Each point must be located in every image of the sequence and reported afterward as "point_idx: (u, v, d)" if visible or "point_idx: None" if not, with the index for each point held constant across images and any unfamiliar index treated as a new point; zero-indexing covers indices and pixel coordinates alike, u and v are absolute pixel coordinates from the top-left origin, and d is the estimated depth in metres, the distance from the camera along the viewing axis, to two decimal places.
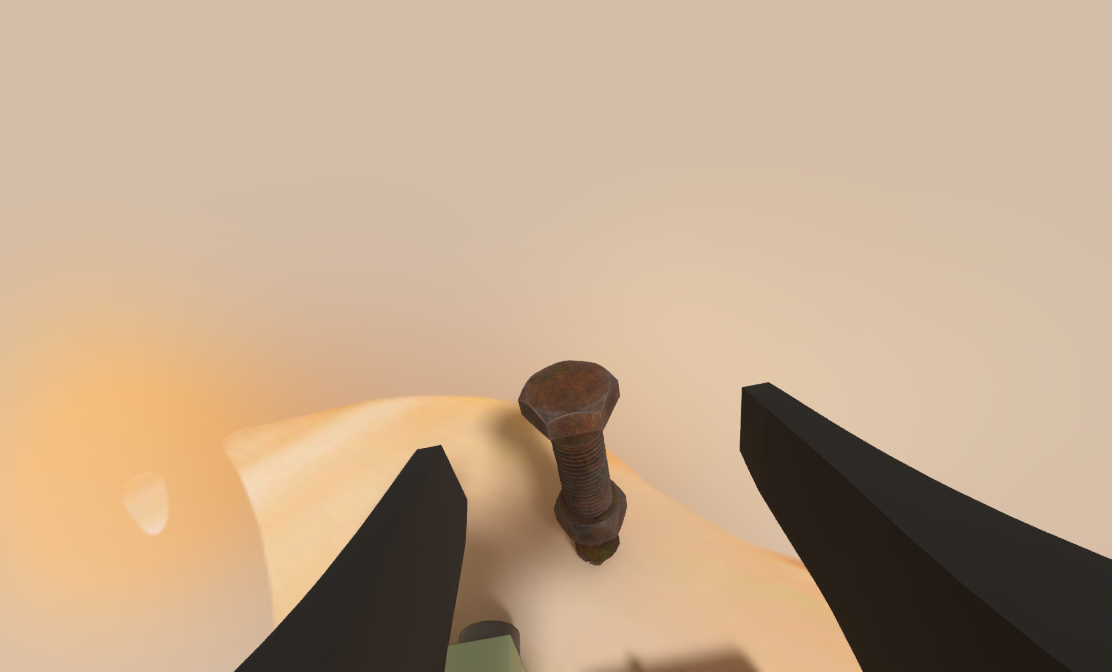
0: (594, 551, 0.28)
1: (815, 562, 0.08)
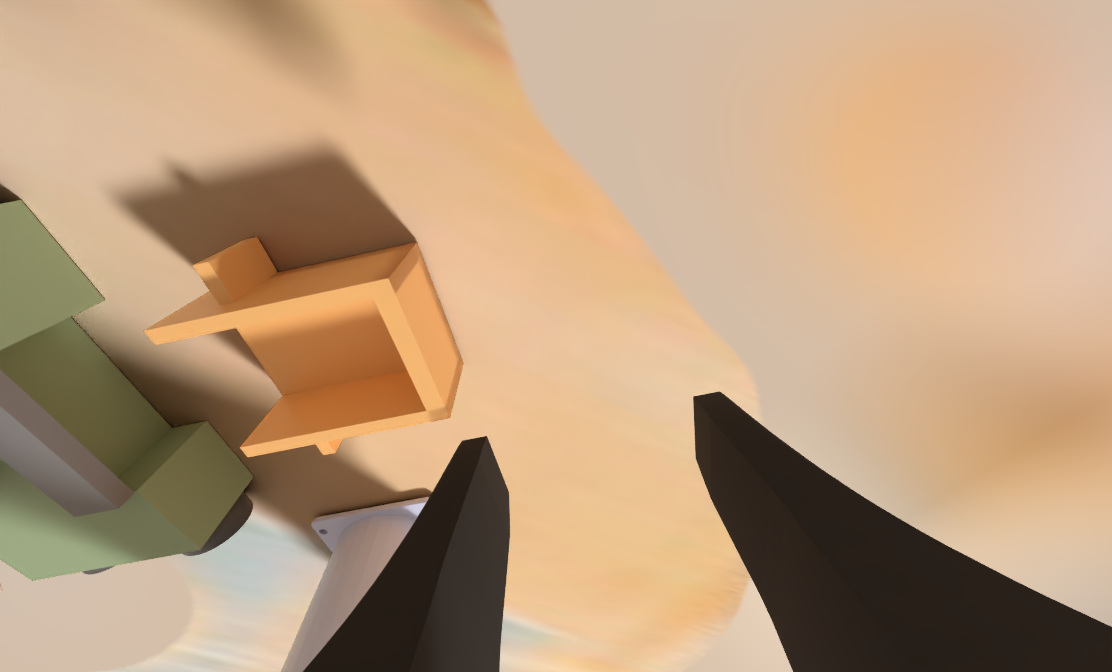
0: None
1: (757, 572, 0.08)
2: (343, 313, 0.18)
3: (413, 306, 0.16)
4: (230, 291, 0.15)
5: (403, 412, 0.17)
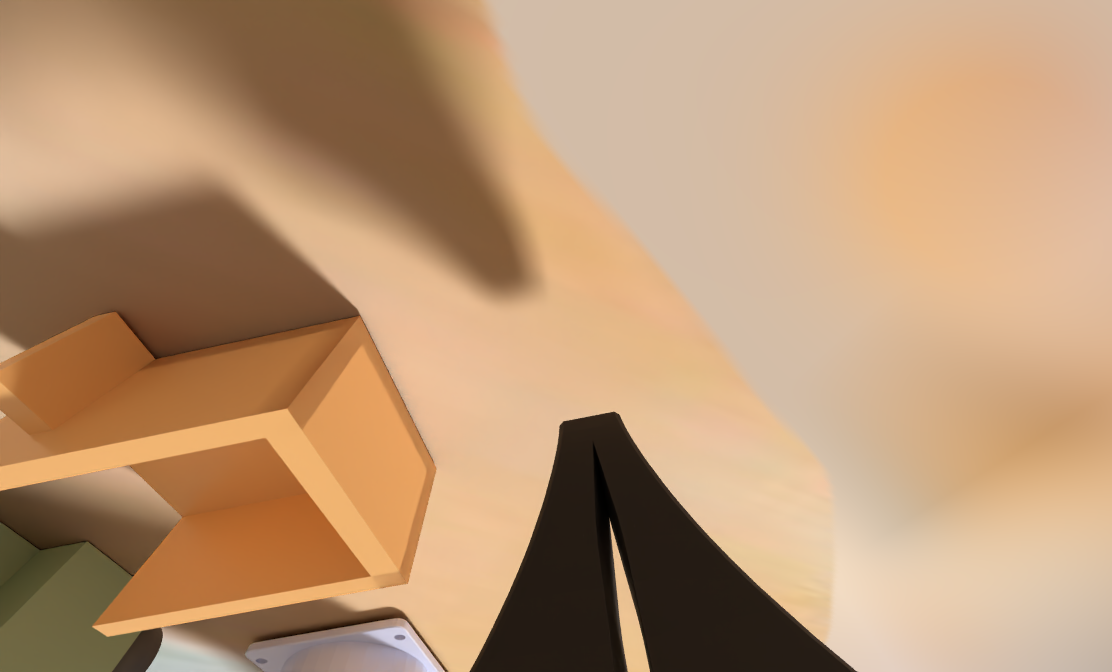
0: None
1: (632, 593, 0.08)
2: None
3: (343, 431, 0.10)
4: (44, 413, 0.09)
5: (338, 576, 0.11)
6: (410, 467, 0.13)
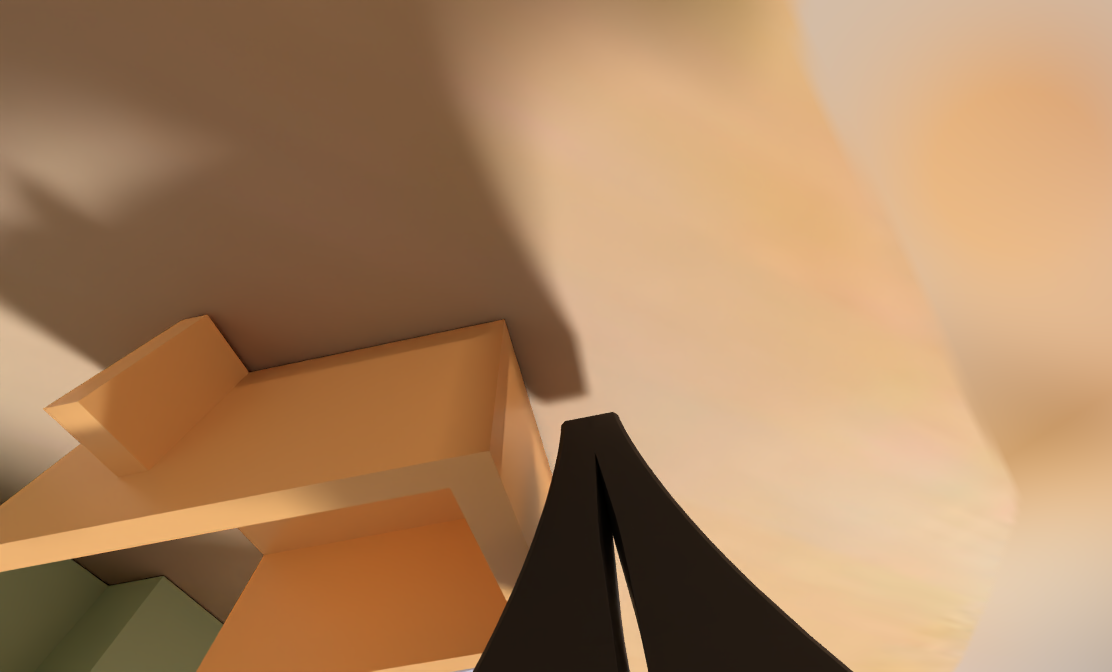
0: None
1: (630, 593, 0.08)
2: None
3: (518, 471, 0.08)
4: (138, 450, 0.07)
5: (484, 643, 0.09)
6: None
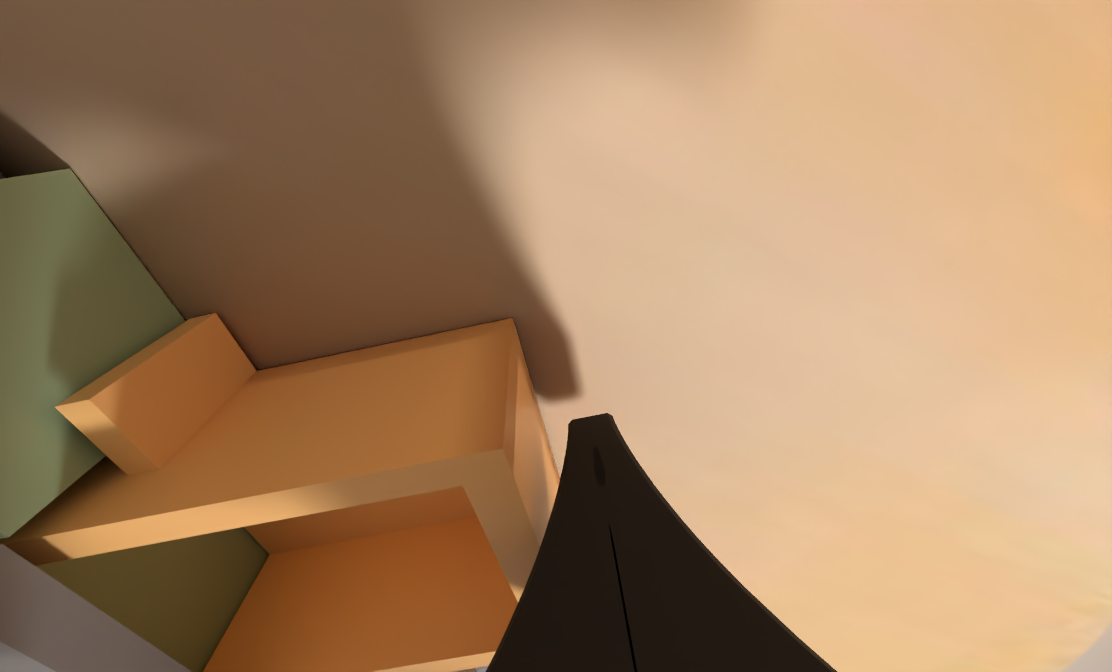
0: None
1: None
2: None
3: (528, 469, 0.08)
4: (148, 448, 0.07)
5: (492, 642, 0.09)
6: None
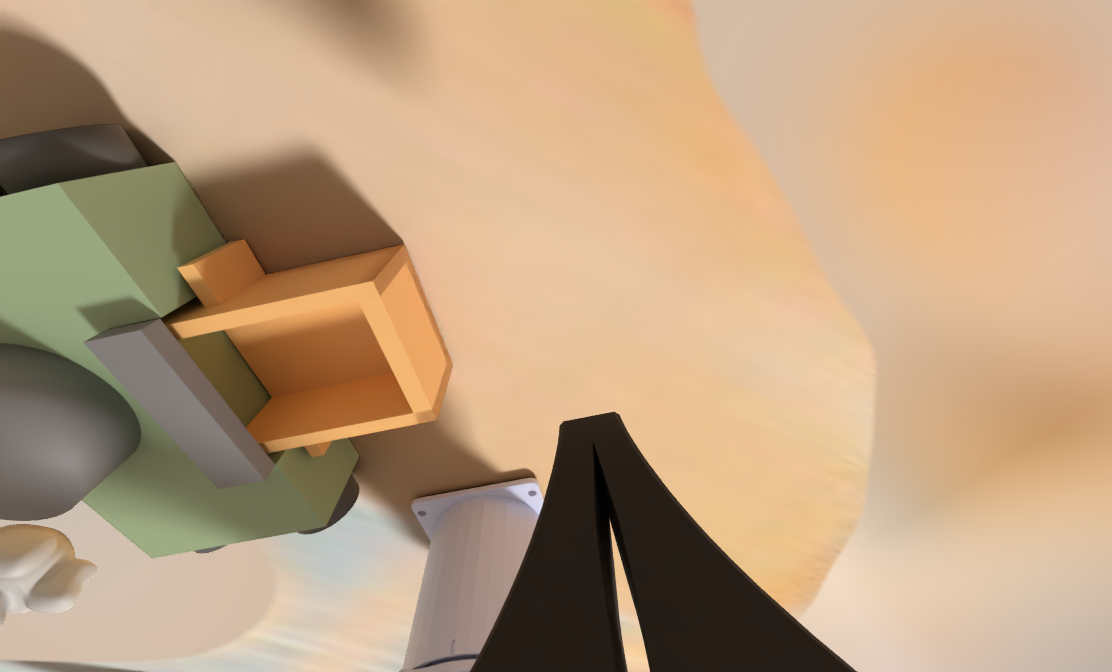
0: None
1: (632, 593, 0.08)
2: (331, 315, 0.18)
3: (398, 309, 0.16)
4: (215, 293, 0.15)
5: (391, 414, 0.17)
6: (436, 353, 0.19)
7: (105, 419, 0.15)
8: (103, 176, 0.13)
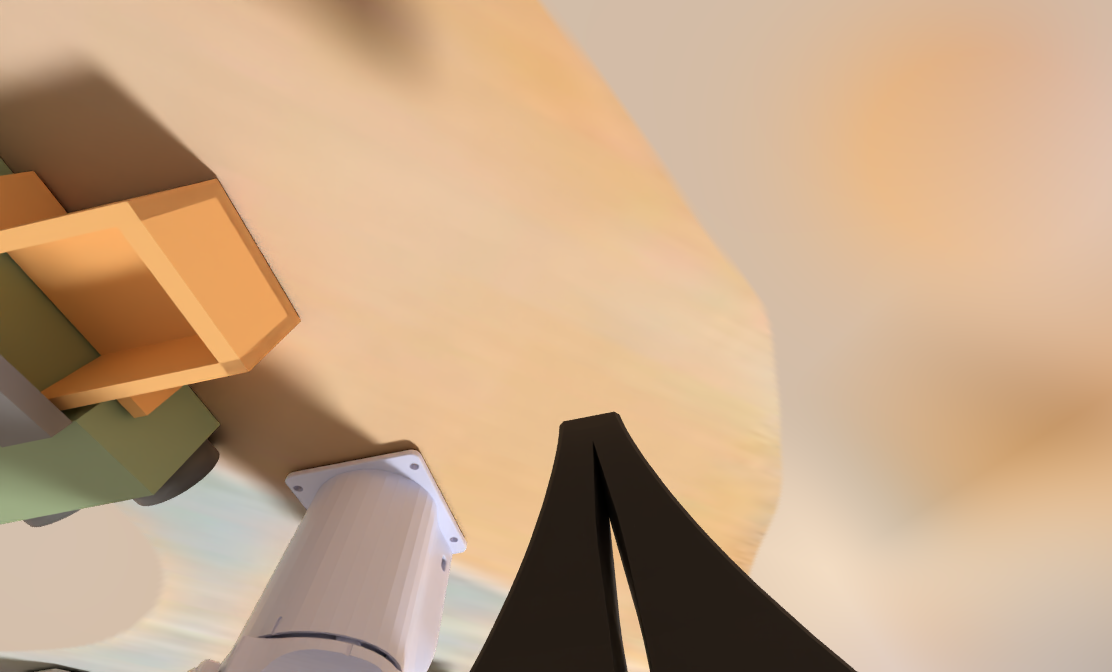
0: None
1: (632, 593, 0.08)
2: None
3: (185, 242, 0.14)
4: None
5: (197, 365, 0.15)
6: (265, 303, 0.17)
7: None
8: None
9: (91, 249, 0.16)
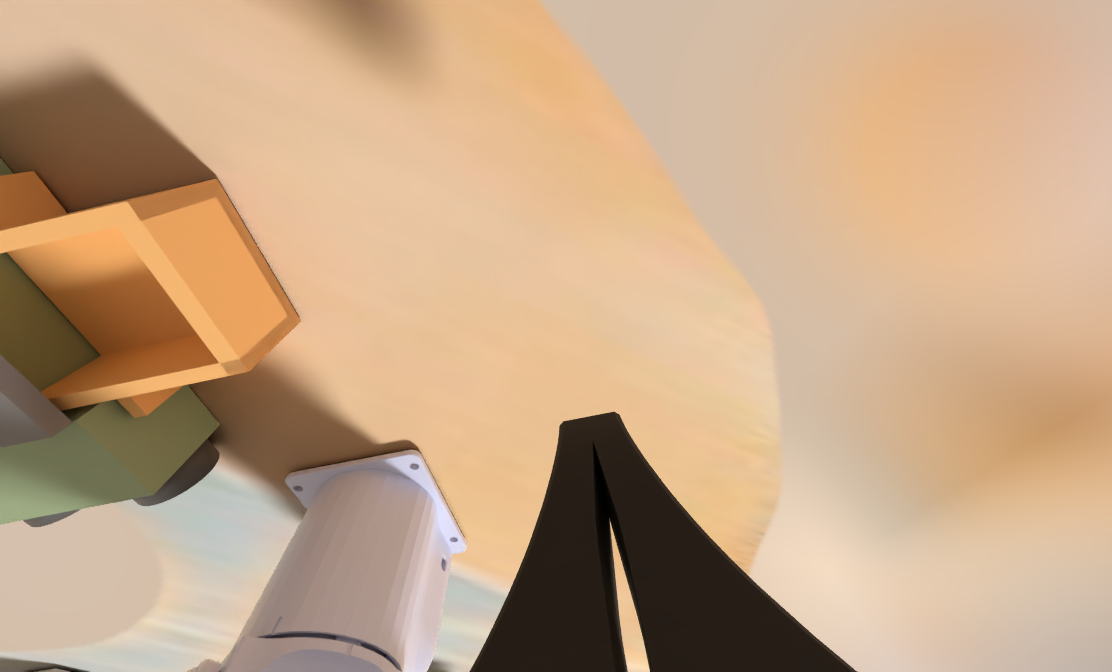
0: None
1: (632, 593, 0.08)
2: None
3: (185, 242, 0.14)
4: None
5: (197, 365, 0.15)
6: (265, 303, 0.17)
7: None
8: None
9: (91, 249, 0.16)
